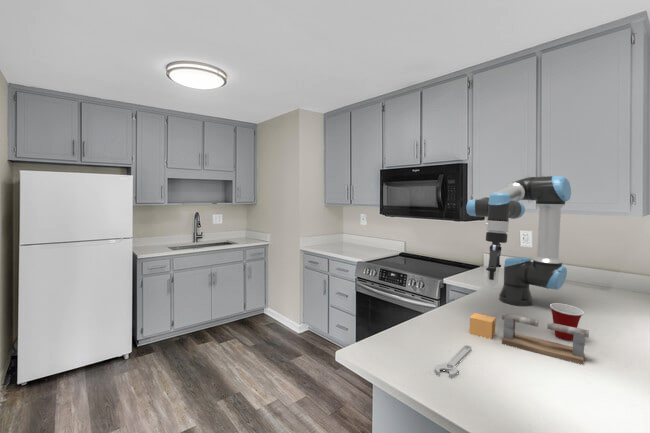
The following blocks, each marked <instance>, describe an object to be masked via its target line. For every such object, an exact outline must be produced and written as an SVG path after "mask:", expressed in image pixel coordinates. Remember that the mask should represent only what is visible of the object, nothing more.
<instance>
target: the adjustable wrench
mask: <svg viewBox="0 0 650 433" xmlns="http://www.w3.org/2000/svg"><path fill="white" fill-rule="evenodd" d="M470 351H471V352H472V346H470V345H467V344H465V345H463V346H462V347H461V348H460V349H459V350H458V351H457V353H455V355H454V356H453V357H452V358H450V360H449V361H448V362H444V363H441V364H437V365H435V366H434V373H436V374H437V375H439V376H438V377H440V374H441V373H447V372H449V373H448V378H449V377H454V378H456V377H457V376H458V375H460V370H459V369H458V368H457V366H458V365H459V364H460V363H461V362H462V361H463V360H464V359H465V358H466V357H467V356H468V355H469V354H470V353H471V352H470ZM469 352H470V353H469ZM468 353H469V354H468ZM467 354H468V355H467ZM466 355H467V356H466ZM465 356H466V357H465ZM464 357H465V358H464ZM463 358H464V359H463ZM462 359H463V360H462ZM461 360H462V361H461ZM460 361H461V362H460ZM459 362H460V363H459ZM458 363H459V364H458ZM457 364H458V365H457ZM456 365H457V366H456ZM455 366H456V367H455ZM443 370H445V372H443ZM457 373H458V374H457ZM436 374H435V375H436ZM437 375H436V376H437ZM456 375H457V376H456ZM455 376H456V377H455Z"/></svg>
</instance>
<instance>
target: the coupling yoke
mask: <svg viewBox="0 0 650 433" xmlns="http://www.w3.org/2000/svg"><path fill="white" fill-rule="evenodd" d="M496 319H497V318H496V317H495V316H491V315H490V316H489V315H485V314H480V313H475V312H474V313H473V314H472V315H471V316H470V317H469V333H470V335H473V334H474V335H473V336H477V337H480V336H482V337H481V338H484V337H486V338H485V339H488V338H490V339H489V340H492V339H493V334H495V335H496V324H497V323H496V321H497V320H496Z"/></svg>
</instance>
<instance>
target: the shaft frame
mask: <svg viewBox="0 0 650 433" xmlns="http://www.w3.org/2000/svg"><path fill="white" fill-rule="evenodd" d="M501 319H502V320H503V336H502V339H501V344H502V345H505V344H506V345H505V346H508V345H509V346H508V347H512V346H513V347H514V348H516V347H517V348H516V349H521V350H525V351H528V352H533V353H536V354H540V355H543V356H547V357H551V358H554V359H555V358H556V359H558V358H559V360H562V359H563V361H567V362H570V361H571V362H570V363H574V364H578V363H579V365H581V364H583V365H584V360H585V355H584V354H585V343H586V342H585V340H586V339H585V338H588V339H589V336H590V330H588V329H584V328H579V327H577V328H575V327H569V326H565V325H560V324H555V323H553V322H550V321H548V322H547V327H546V328H547V330H550V331H554V332H555V331H559V332H564V333H569V334H573V335H574V336H573V340H572V346H570V345H567V344H566V345H565V344H563V343H562V344H561V343H559V342H554V341H550V340H545V339H541V338H538V337H533V336H529V335H524V334H520V333H516V323H517V324H518V323H519V324H524V325H529V326H531V327H533V326H534V327H539V319H535V318H531V317H525V316H521V315H516V314H512V313H506V312H502V314H501Z"/></svg>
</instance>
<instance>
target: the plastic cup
mask: <svg viewBox="0 0 650 433" xmlns="http://www.w3.org/2000/svg"><path fill="white" fill-rule="evenodd" d="M549 307H550V310H551V315H552V323H555V324H560V325H565V326H569V327H575V328H578V326H579V323H580V320H581V318H582V316H583V315H584V313H585V312H584V311H583V310H582V309H581V308H579V307H576V306H574V305H570V304H566V303H561V302H560V303H559V302H554V303H550V305H549ZM554 334H555V337H556V338H558V339H560V340H565V341H573V336H574V335H573V334H569V333H564V332H559V331H555V330H554Z"/></svg>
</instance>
